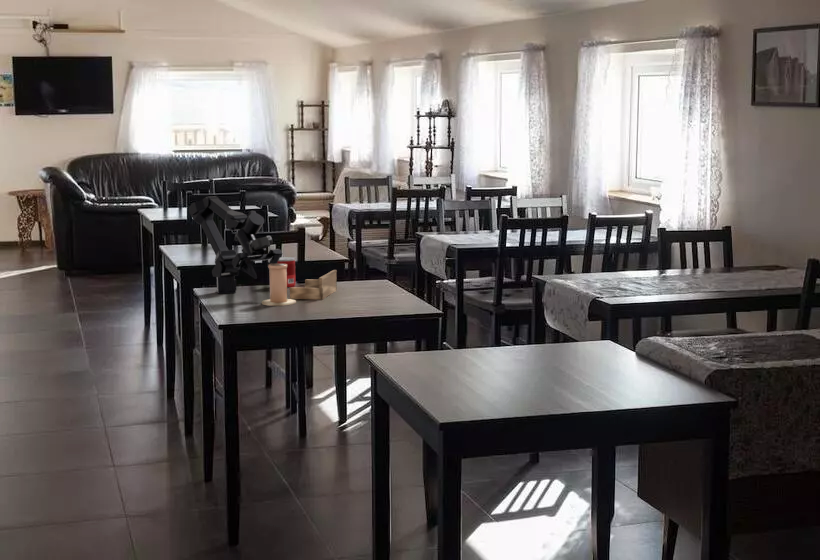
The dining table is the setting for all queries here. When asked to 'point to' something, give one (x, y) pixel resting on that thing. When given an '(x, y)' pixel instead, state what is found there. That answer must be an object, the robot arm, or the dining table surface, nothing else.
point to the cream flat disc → (289, 302)
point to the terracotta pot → (278, 282)
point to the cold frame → (316, 287)
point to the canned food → (289, 269)
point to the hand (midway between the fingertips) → (267, 276)
